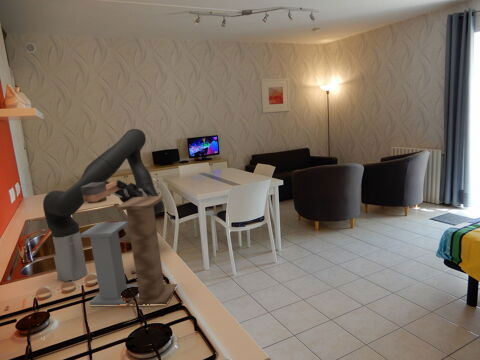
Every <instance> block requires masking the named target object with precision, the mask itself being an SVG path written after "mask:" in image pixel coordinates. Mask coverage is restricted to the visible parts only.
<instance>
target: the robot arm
mask: <svg viewBox="0 0 480 360" xmlns="http://www.w3.org/2000/svg"><path fill="white" fill-rule="evenodd" d="M145 144H146V134H145V133H144V131H142V130H141V129H139V128H132V129H128V130H127V131H125V133H124V135H122V137H121V138H120V139H119V140H118V141H117V142H116V143H115V144H113V145H112V146H111V147H109V148H107V149H106V150H105V151H104V152H103V153H101V154H100V155H99V156H97V157H96V158H95V159H94V160H93V161H91V162H90V163H89V164H88V165H87V166H86V167H85V169H84V172H83V174H82V176H81V178H80V179H79V180H78V181H77V182H76V183H75V184H74V185H72V186H71V187H69V188H68V189H67V190H51V191H50V192H48V193H47V194H46V195H45V196H44V198H43V202H42V205H43V206H42V207H43V212H44V217H45V221H46V224H47V228H48V229H49V230H50V233H51V236H52V241H53V246H54V250H55V251H54V252H55V255H54V256H53V259H54V263H55V269H56V270H55V271H56V273H57V280H59V281H63V282H69V281H68V280H72V281H77V280H79V279H82V278H83V277H85V276H87V274H88V270H87V264H86V259H85V252H84V248H83V243H82V237H81V235H80V234H81V231H80V230H81V229H80V225H79V223H78V222H77V221H76V220H75V219H73V218H72V215H74V214H75V213H76V212H77V211H79V209H81V207H82V206H83V205H84V204H85V202H84V200H83V195H82V193H81V187H82V186H85V185H87V184H90V183H95V182H105V184H106V185H107V184H109V183H110V182H109V181H108V180H109V179H110V178H111V177H113V175H115V173H117V171H118V170H120V168H121V166H122V165H123V164H124V163H125V161H126V160H127V162H128V163H127V164H128V165H129V167H130V171H131V172H132V175H133V178H134V181H135V182H134V183H132V182H130V183H128V182H125V183H123V182H122V181H123V180H120V179H117V180H116V181H117V187H119V188H120V189H119V190H118V191H116V192H114V193H112V194H110V195H108V196H107V197H111V195H114V196H116V197H118V198H119V200H120V202H122V204H123V203H124V202H126V201H128V200H129V199H131V198H133V197H151V196H160V195H159V194H158V192H157V190H156V188H155V185H154V182H153V178H152V175H151V173H150V171H149V169H148V168H146V166H145V163H143V160H142V154H141V150H142V149H143V148H144V146H145ZM164 209H165V203H164V201H163V199H162V200H161V201H160V202H158V203H157V204H156V205H154V214H155V215H157V214H160V213H161V212H163V211H164Z"/></svg>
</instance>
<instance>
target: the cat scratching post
mask: <svg viewBox="0 0 480 360" xmlns="http://www.w3.org/2000/svg"><path fill="white" fill-rule="evenodd" d="M161 200H162V201H163V200H164V196H163V195H159V196H151V195H150V197H133V198H131V199H129V200H128V201H126V202H124V203H123V202H122V203H120V204H119V205H118V206H116V209H117V211H126V217H127V221H128V225H127V226H128V230H129V238H130V245H131V251H132V258H133V263H134V271H135V277H136V278H137V279H136V278H135V279H136V283H137V284H138V291H139V297H138V298H137V299H136V300H137V303H138V305H143V304H145V305H147V304H149V305H150V304H167V302H168V301H169V299H170V298H171V296H172V294H173V292H174V289H175V287H176V285H177V286H178V283H165V280H164V275H163V274H164V272H163V271H162V270H163V268H162V260H161V259H162V258H161V252H160V245H159V238H158V231H157V230H158V229H157V223H156V214H154V205H156V204H157V203H158V202H160V201H161ZM173 295H174V294H173ZM172 297H173V296H172ZM171 299H172V298H171ZM171 299H170V300H171ZM169 302H170V301H169ZM129 304H133V305H135V301H134V300H131V301H129ZM129 304H128V305H129ZM167 305H168V304H167Z"/></svg>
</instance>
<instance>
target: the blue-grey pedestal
mask: <svg viewBox="0 0 480 360" xmlns="http://www.w3.org/2000/svg"><path fill="white" fill-rule="evenodd" d="M127 226H129V225H128V220H127V221H107V222H106V221H105V222H102V221H101V222H98V223H96V224H95V225H93V226H92V227H90V228H88V229H86V230H85V231H83V232H81V233H80V236H81V238H89V239H90V245H91V251H92V256H93V261H94V268H95V274H96V278H97V286H98V290H99V292H98V293H97V294H96V295H95V296H94V297H93V298H92V299H91V300H90V301H89V306H90V305H120V304H126V301H123V300H122V297H121V293H122V291H124V290H125V289H127V288H130V287H138V284H127V280H126V274H125V266H124V262H123V260H124V259H123V254H122V248H121V242H120V236H119V232H120V231H121V230H122V229H124V228H125V227H127Z"/></svg>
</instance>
